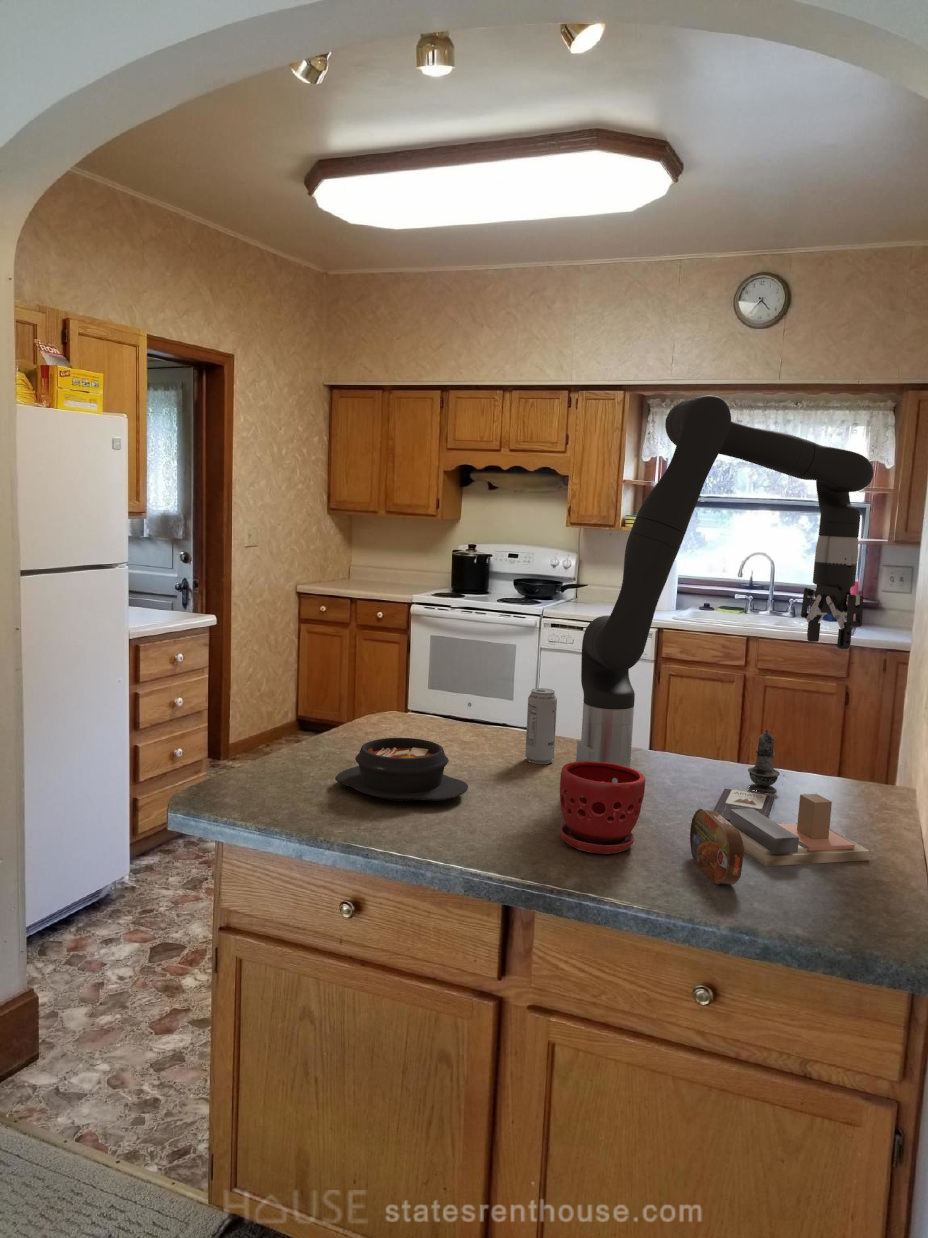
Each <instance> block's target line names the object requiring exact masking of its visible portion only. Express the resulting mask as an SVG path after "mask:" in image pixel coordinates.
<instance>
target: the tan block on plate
mask: <svg viewBox="0 0 928 1238" xmlns="http://www.w3.org/2000/svg"><path fill="white" fill-rule="evenodd" d="M832 806H833V802H832V801H831V800H829V799H827V798H825V797H823V796H822V795H820V794H818V793H803V794H799V803H798V813H797V815H798V816H797V823H777V824H778V825H780V826H781V827H783V828H785V829H786V830H788V831H790V832H791V833H793V834H794V835H796V836H798V837H799V843H801V844H802V845H804V846H806V847H807V850H808V851H818V850H836V849H854V846H855V845H854V844H852V843H851V842H849V841H847V840H845V839H844V838H842V837H840V836H838V835H837V834H835V833H833V832H831V831H830V830H829V828H830V829H831V827H830V826H831V815H832Z"/></svg>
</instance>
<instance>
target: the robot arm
mask: <svg viewBox="0 0 928 1238" xmlns="http://www.w3.org/2000/svg"><path fill="white" fill-rule="evenodd" d="M664 423H665V424H664V425H665V427H664V428H665V433H666V435H667V437H668V439H669V440H670V442H671V443H673V445H674V446H675V449H674V452H673V454H672V457H671V461H670V462H669V464H668V467H667V468H666V469H665V471H664V473H663V474H662V476H661V477H660V479H659V480H658V481H657V483H656V484H655V485H654V487H653V488H652V489H651V491H650V492H649V494H648V495H647V497H646V498H645V500H644V501H643V503H642V504H641V506H640V507H639V510H638V512H637V514H636V517H635V518H634V519H635V520H634V522H633V524H632V527H631V530H630V532H629V533H628V538H627V541H626V544H625V550H624V557H623V558H624V560H623V570H622V571H623V574H622V582H621V587H620V591H619V595H618V597H617V600H616V602H615V605H614V606H613V608H612V611H611V613H610V615H601V616H597V617H596V618H594V619H593V620H591V622H590V623H589V624H588V625H587V626H586V629H585V631H584V632H583V637H582V641H581V662H580V663H581V669H580V679H581V680H580V681H581V682H580V683H581V687H582V692H583V703H582V704H583V705H582V708H583V709H582V718H581V719H582V723H581V738H580V740H578V741H577V742H576V754H575V755H576V760H575V762H580V761H594V762H606V763H612V764H618V765H622V766H626V767H629V768H631V762H632V761H631V759H632V746H633V745H632V743H633V726H634V714H635V713H634V711H635V702H636V701H635V699H636V698H635V697H636V696H635V690H634V688H633V686H632V684H631V680H630V674H629V670H630V669H631V668H633V667H634V666H635V665H636V664H637V663H638V662H639V661H640V659H641V658H642V656H643V654H644V650H645V648H646V645H647V642H648V638H649V634H650V631H651V627H652V624H653V620H654V616H655V612H656V610H657V607H658V603H659V601H660V598H661V595H662V593H663V590H664V588H665V586H666V583H667V580H668V578H669V575H670V573H671V570H672V567H673V564H675V563H674V562H675V561H676V559H677V556H678V555H679V554H678V553H679V551H680V548H681V546H682V543H683V540H684V539H685V535H686V533H687V530H688V528H689V525H690V521H691V519H692V517H693V514H694V511H695V509H696V506H697V503H698V501H699V498H700V497H701V493H702V490H703V488H704V485H705V482H706V480H707V478H708V476H709V474H710V471H711V469H712V468H713V466H714V464H715V461H716V460H717V457H718V456H719V455H722V456H726V457H730V458H734V459H738V460H741V461H745V462H749V463H751V464H754V465H756V466H759V467H763V468H766V469H769V470H772V471H774V472H777V473H779V474H783V475H788V476H789V477H792V478H796V479H800V480H805V481H815V487H816V488H815V489H816V495H817V502H818V506H819V512H820V518H819V528H818V536H817V537H818V538H817V542H816V546H815V553H814V554H815V555H814V563H813V564H814V565H813V574H812V575H813V576H812V583H813V584H814V585H816V587H805V588H804V589H803V596H802V604H801V611H800V617H801V618H802V619H803V618H804V619H805V620H806V622H807V633H806V637H807V639H806V640H807V641H808V642H810V643H817V642H819V640H820V634H821V633H820V632H821V623H820V622H821V621H822V620H823V618H824V616H826V615H828V614H829V615H832V616H833V618H834V619H835V620H836V621H837V623H838V626H839V628H838V633H837V643H836V648H837V649H839V650H848V649H849V648H850V646H851V642H852V633H853V629H855V628H860V627H862V625H863V611H864V595H862V594H857V593H856V594H852V593H851V588H852V587H855V585H856V580H857V570H858V568H857V567H858V558H859V536H860V535H859V534H860V524H861V511H860V509H859V508H858V507H856V506H854V505H852V504H851V499H850V493H854V492H859V491H863V489H865V488H866V487H868V486H869V485H870V484H871V482H872V480H873V478H874V466H873V464H872V463H871V461H870V459H868V458H867V457H866V456H864V455H863V454H861V453H858V452H856V451H852V450H848V449H842V448H838V447H833V446H832V447H831V446H826V445H822V444H818V443H816V442H814V441H811V440H808V439H805V438H802V437H799V436H796V435H793V434H791V433H786V432H782V431H778V430H777V431H776V430H771V429H767V428H760V427H755V426H750V425H746V424H742V423H738V422H735V421H732V414H731V409H730V407H729V405H728V404H727V402H726V401H725V400H724V399H722V398H721V397H719V396H716V395H702V396H701V395H700V396H697V397H693V398H690V399H689V398H687V399H685V400H682V401H680V402H679V403H677V404H675V405H674V406H673V407H672V408H671V409H670V410H669V411H668V413H667V416H666V418H665V422H664ZM808 607H809V609H808ZM808 610H809V611H808ZM854 615H855V617H854ZM854 619H855V620H854ZM601 782H604V781H601ZM612 782H613V783H617V782H618V780H617V779H616V778H613V779H612ZM581 797H583V796H581Z"/></svg>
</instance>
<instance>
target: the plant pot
mask: <svg viewBox="0 0 928 1238" xmlns="http://www.w3.org/2000/svg"><path fill="white" fill-rule="evenodd" d="M613 778H616V779H617V780H618V782H617V783H613V782H612V779H613ZM559 779H560V780H559V802H560V803H559V804H560V809H561V815H562V817H563V820H564V824H563V825H561V827H560V831H559V832H560V836H561V838H562V839H563V840H564V842H565V843H566V844H567V845H569V846H571V847H572V848H575V849H576V850H577V851H580V852H581V851H582V852H586V853H592V854H601V855H608V854H609V855H610V854H617V853H622V852H623V851H626V850H628V849H629V848H630V847H631V846H633V844H634V841H635V835H634V834H633V830H634V829H635V826H636V825H637V822H638V820H639V818H640V815H641V811H642V805H643V800H644V796H645V791H646V790H645V788H646V776H645V775H644V774H643V773H642V772H640V771H639V770H637V769H634V768H632V767H630V768H629V767H626V766H622V765H618V764H612V763H606V762H594V761H580V762H576V761H574V762H569V763H566V764H564V765H563V766H562V767H561V772H560V778H559ZM601 781H604V782H601ZM582 796H583V797H582Z"/></svg>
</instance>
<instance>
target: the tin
mask: <svg viewBox="0 0 928 1238" xmlns="http://www.w3.org/2000/svg"><path fill="white" fill-rule="evenodd" d="M689 830H690V832H689V833H690V834H689V844H690V852H691V855H692V859H693V861H694V863H695V864H696V866H698V867H699V869H701V870H702V871H703V873H704V874H705V875H706V876H707V878H708V879H709V880H710V881H711V882H712V883H714V885H734V884H736V883H737V882H739V880H740V879H741V876H742V870H743V863H744V855H745V852H744V845H743V840H742V837H741V835H740V833H739V831H738V830H737V829H736V828H735V827H734V826H733V825H732V824H731V823H730V822H728V821H727V820H726V819H725V818H724V817H723V816H722V815H721V814H719V813H718V812H716V811H713V810H707V809H703V808H699V809H697V810H696V811H695V813H694V814H693V816H692V819H691V823H690V829H689Z"/></svg>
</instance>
